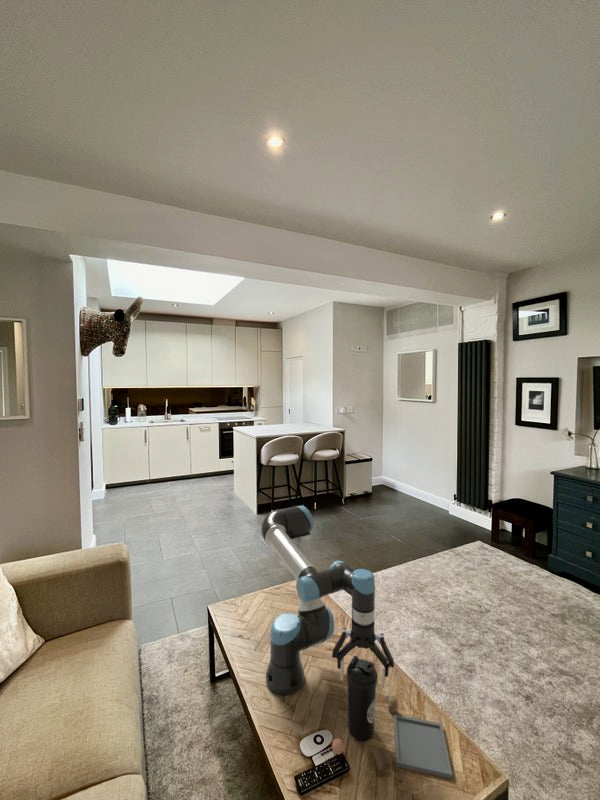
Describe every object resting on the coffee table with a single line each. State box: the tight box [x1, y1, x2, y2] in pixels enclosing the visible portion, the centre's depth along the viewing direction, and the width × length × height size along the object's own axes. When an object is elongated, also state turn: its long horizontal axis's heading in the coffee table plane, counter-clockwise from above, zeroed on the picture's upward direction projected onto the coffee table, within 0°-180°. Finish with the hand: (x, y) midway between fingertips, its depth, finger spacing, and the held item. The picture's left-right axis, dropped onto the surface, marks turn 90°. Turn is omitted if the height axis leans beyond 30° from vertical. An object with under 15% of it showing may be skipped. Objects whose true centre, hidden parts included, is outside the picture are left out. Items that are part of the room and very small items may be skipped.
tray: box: [392, 714, 454, 780], centre depth 112 cm, size 16×16×1 cm
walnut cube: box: [374, 748, 393, 778], centre depth 105 cm, size 4×4×4 cm
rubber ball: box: [331, 737, 344, 755], centre depth 110 cm, size 4×4×4 cm
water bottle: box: [346, 655, 378, 743], centre depth 117 cm, size 10×10×23 cm
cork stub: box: [388, 695, 399, 716], centre depth 124 cm, size 3×3×4 cm
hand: (362, 681), depth 117 cm, fingers open, 13 cm apart
